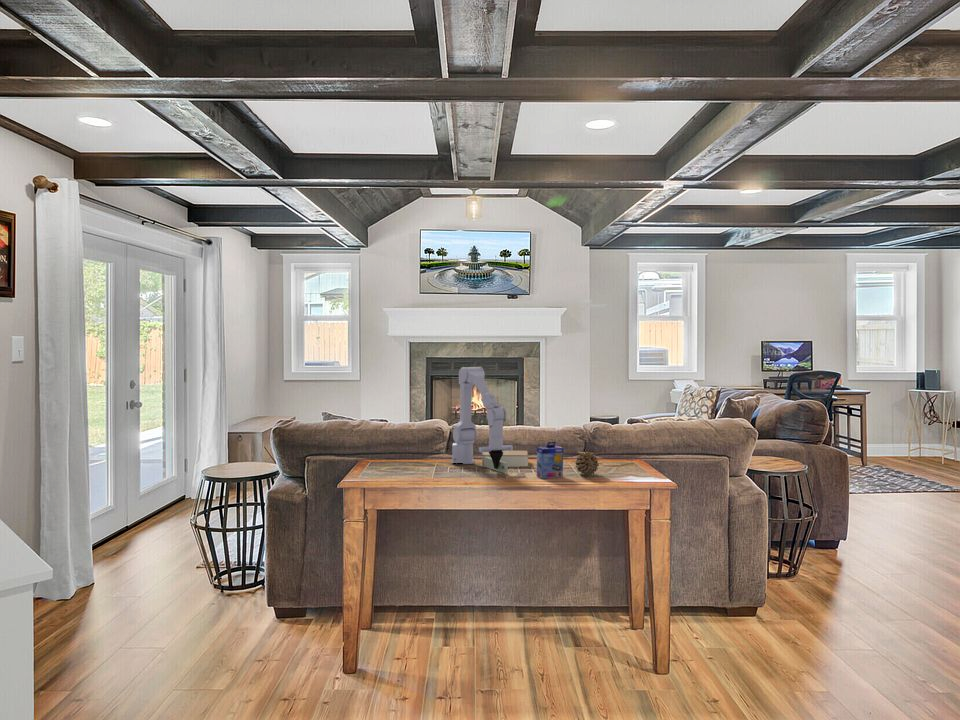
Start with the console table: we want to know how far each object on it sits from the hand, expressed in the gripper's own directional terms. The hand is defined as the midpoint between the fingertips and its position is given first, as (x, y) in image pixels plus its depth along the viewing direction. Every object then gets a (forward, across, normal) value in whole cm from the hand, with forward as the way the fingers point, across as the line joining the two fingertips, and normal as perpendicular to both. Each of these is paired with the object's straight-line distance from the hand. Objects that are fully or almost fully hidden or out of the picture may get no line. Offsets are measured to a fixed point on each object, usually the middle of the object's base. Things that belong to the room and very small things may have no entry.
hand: (496, 468), depth 277 cm
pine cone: (+2, +33, -16) cm, 37 cm away
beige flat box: (+2, +11, +16) cm, 19 cm away
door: (+1, +1, +4) cm, 5 cm away
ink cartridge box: (+2, +16, -17) cm, 24 cm away
